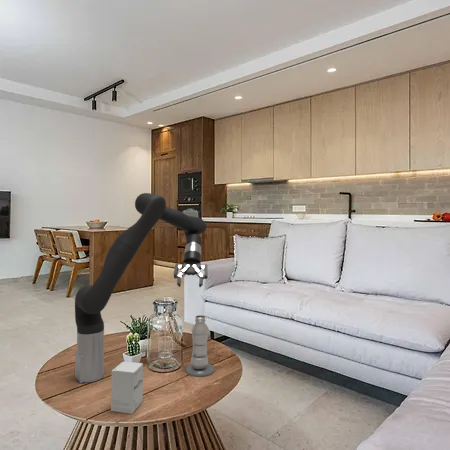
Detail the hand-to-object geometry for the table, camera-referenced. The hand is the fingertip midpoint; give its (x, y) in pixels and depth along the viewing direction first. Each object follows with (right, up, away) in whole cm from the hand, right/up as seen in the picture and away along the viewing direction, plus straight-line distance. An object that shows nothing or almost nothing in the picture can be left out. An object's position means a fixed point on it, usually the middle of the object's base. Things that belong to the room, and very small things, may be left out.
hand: (189, 286), depth 146 cm
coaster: (+5, -31, -9) cm, 33 cm away
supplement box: (-16, -32, -35) cm, 50 cm away
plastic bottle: (+5, -30, -9) cm, 32 cm away
